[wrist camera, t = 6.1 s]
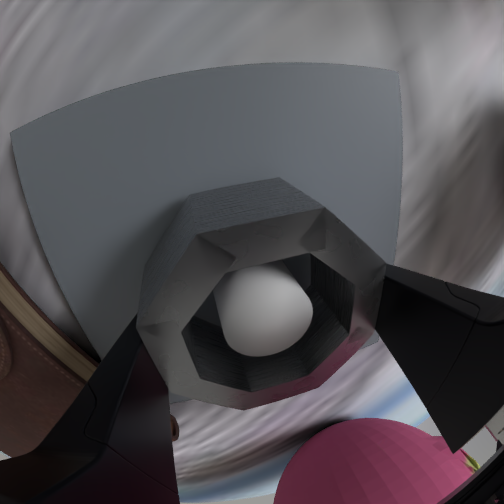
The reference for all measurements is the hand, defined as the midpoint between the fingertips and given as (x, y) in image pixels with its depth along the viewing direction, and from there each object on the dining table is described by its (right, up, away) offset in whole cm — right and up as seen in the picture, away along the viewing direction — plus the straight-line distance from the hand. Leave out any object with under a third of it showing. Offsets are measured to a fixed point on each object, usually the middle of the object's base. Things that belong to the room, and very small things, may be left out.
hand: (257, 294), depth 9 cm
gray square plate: (-1, +1, +2) cm, 2 cm away
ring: (0, 0, +1) cm, 1 cm away
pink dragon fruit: (+6, -14, +12) cm, 20 cm away
